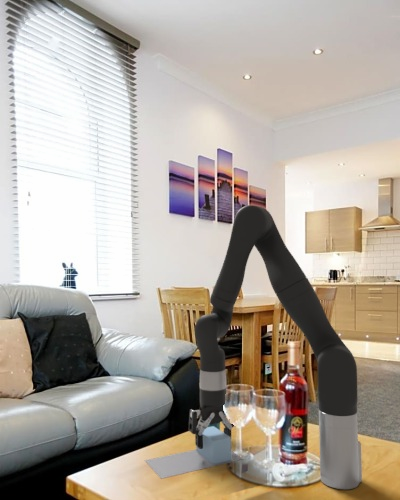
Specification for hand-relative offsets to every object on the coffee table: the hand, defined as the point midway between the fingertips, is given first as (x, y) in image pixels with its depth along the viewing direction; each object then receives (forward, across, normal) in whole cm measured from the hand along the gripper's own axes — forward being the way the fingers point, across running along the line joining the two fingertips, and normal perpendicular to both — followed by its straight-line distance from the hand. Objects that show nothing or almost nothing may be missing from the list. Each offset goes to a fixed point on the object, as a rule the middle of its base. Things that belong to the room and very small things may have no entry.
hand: (213, 445), depth 121 cm
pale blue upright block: (+3, 0, 0) cm, 3 cm away
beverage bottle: (+4, +8, +17) cm, 19 cm away
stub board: (+4, -6, 0) cm, 7 cm away
